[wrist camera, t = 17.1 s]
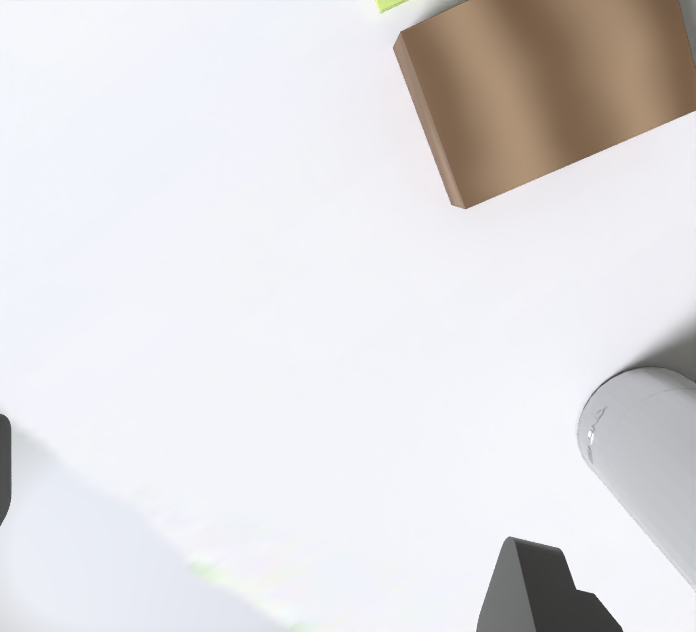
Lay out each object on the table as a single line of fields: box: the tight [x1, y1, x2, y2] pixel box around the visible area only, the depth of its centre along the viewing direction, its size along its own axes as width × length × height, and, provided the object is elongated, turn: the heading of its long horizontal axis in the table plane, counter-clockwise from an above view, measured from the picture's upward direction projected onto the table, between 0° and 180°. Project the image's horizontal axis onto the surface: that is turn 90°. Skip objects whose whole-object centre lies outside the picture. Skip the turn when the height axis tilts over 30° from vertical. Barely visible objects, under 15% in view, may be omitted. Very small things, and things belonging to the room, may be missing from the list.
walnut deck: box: [393, 0, 696, 209], centre depth 32 cm, size 14×10×4 cm
